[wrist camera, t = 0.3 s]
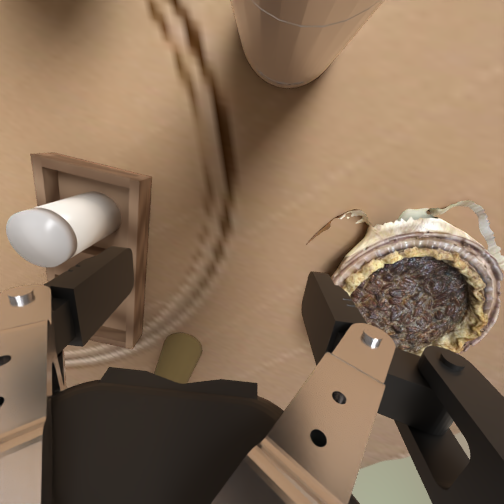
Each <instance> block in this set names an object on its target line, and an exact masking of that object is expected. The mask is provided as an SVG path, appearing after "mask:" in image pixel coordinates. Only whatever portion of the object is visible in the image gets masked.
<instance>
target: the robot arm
mask: <svg viewBox="0 0 504 504" xmlns="http://www.w3.org/2000/svg"><path fill="white" fill-rule="evenodd" d="M230 1H231V5H232V9H233V12H234V16H235V20H236V24H237V28H238V32H239V36H240V40H241V43H242V47H243V50H244V53H245V56H246V58H247V60H248V62H249V63H250V65H251V67H252V69H253V70H254V71H255V72H256V73H257V74H258V75H259V77H261V78H262V79H263V80H265V81H266V82H268V83H270V84H272V85H274V86H277V87H283V88H294V87H300V86H302V85H305V84H308V83H310V82H311V81H313V80H314V79H316V78H317V77H319V76H320V75H321V74H322V73H323V72H324V71H325V70H326V69H327V68H328V67H329V65H330V64H331V63H332V62H333V61H334V59H335V58H336V57H337V56H338V55H339V54H340V53H341V51H342V50H343V49H344V48H345V47H346V45H347V44H348V43H349V42H350V41H351V39H352V38H353V37H354V36H355V35H356V33H357V32H358V31H359V30H360V29H361V27H362V26H363V25H364V24H365V23H366V21H367V20H368V19H369V18H370V17H371V16H372V14H373V13H374V12H375V11H376V10H377V8H378V7H379V6H380V5H381V4H382V2H383V1H384V0H230ZM133 285H134V269H133V253H132V250H131V249H130V248H125V247H117V246H110V247H109V248H107V249H106V250H104V251H103V252H101V253H99V254H98V255H96V256H93V257H90V258H87V259H84V260H83V261H81V262H79V263H78V264H76V265H75V266H73V267H71V268H70V269H68V271H65V272H63V273H62V274H60V275H59V276H57V277H56V278H54V279H52V280H51V281H49V282H48V283H46V284H44V285H38V284H32V285H23V286H17V287H13V288H10V289H7V290H5V291H2V292H0V504H360V503H359V502H358V501H357V500H356V498H355V497H354V496H353V495H352V490H353V487H354V484H355V481H356V478H357V475H358V471H359V468H360V465H361V462H362V459H363V456H364V453H365V449H366V446H367V443H368V440H369V437H370V434H371V431H372V427H373V424H374V421H375V418H376V415H377V413H379V414H381V415H384V416H386V417H389V418H391V419H394V421H395V423H396V425H397V427H398V429H399V432H400V434H401V436H402V438H403V440H404V443H405V445H406V447H407V449H408V451H409V453H410V456H411V458H412V460H413V462H414V464H415V466H416V469H417V471H418V473H419V475H420V477H421V480H422V482H423V484H424V486H425V488H426V490H427V493H428V495H429V497H430V499H431V501H432V503H433V504H504V397H503V396H502V395H501V394H500V393H499V392H498V391H497V390H496V389H495V388H494V387H493V386H492V384H491V383H490V382H489V381H488V380H487V379H486V378H485V377H484V376H483V375H482V374H481V373H480V372H479V371H478V370H477V369H476V368H475V367H474V366H473V365H472V364H471V363H470V362H469V361H468V360H466V359H465V358H463V357H462V356H460V355H459V354H457V353H455V352H453V351H451V350H448V349H446V348H443V347H439V346H427V347H426V348H425V349H424V351H423V353H422V355H421V356H418V355H415V354H412V353H409V352H406V351H403V350H400V349H397V348H395V347H396V346H395V343H394V341H393V339H392V338H391V337H390V336H389V335H388V334H387V333H385V332H384V331H382V330H381V329H379V328H377V327H375V326H372V325H369V324H367V322H366V321H365V319H364V318H363V316H362V314H361V313H360V311H359V310H358V308H357V307H356V305H355V304H354V302H353V301H352V299H351V297H350V296H349V294H348V293H347V292H346V291H345V290H344V289H342V288H341V287H340V286H339V285H335V284H334V283H333V281H332V279H331V278H330V276H329V274H328V273H320V272H312V271H311V272H310V274H309V276H308V280H307V284H306V288H305V292H304V296H303V301H302V316H303V320H304V323H305V327H306V330H307V334H308V337H309V341H310V344H311V348H312V352H313V355H314V359H315V362H316V368H315V369H314V370H313V372H312V373H311V375H310V376H309V377H308V379H307V380H306V381H305V383H304V384H303V386H302V387H301V388H300V390H299V391H298V393H297V394H296V395H295V397H294V398H293V400H292V401H291V402H290V404H289V405H288V407H287V408H286V409H285V411H283V410H282V409H281V408H280V407H278V406H277V405H275V404H273V403H272V402H270V401H268V400H266V399H264V398H262V397H259V396H257V383H251V382H242V381H232V380H223V379H220V380H211V381H203V382H194V383H186V384H181V383H177V382H174V381H172V380H169V379H166V378H164V377H161V376H158V375H155V374H153V373H150V372H147V371H141V370H131V369H122V368H113V367H109V368H108V370H107V371H106V373H105V374H104V376H103V377H102V379H101V380H95V381H90V382H86V383H82V384H79V385H75V386H73V387H70V388H66V372H65V357H64V352H63V349H64V348H65V347H66V346H67V345H73V346H82V347H83V346H84V345H85V344H86V343H87V342H88V340H89V339H90V338H91V337H92V336H93V335H94V334H95V333H96V331H97V330H98V329H99V328H100V327H101V326H102V325H103V324H104V322H105V321H106V320H107V319H108V318H109V317H110V316H111V314H112V313H113V312H114V311H115V310H116V309H117V308H118V307H119V305H120V304H121V303H122V302H123V301H124V300H125V299H126V298H127V296H128V295H129V294H130V293H131V291H132V289H133ZM453 421H454V422H455V424H456V425H457V427H458V428H459V430H460V431H461V433H462V434H463V435H464V437H465V439H466V441H467V443H468V445H469V449H470V456H471V457H470V460H469V458H468V457H467V455H466V454H465V452H464V451H463V449H462V447H461V446H460V444H459V443H458V441H457V439H456V438H455V436H454V435H453V433H452V432H451V430H450V429H449V427H450V426H451V424H452V423H453Z"/></svg>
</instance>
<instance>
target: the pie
mask: <svg viewBox="0 0 504 504" xmlns="http://www.w3.org/2000/svg"><path fill="white" fill-rule="evenodd" d="M454 206H466V207H469V208H471V209H472V210H473V211H474V212H475V213H476V214H477V216H478V219H479V228H480V232H481V233H482V235H483V236H484V238H485V240H486V241H487V243H488V251H487V250H486V249H485V248H484V247H483V246H482V245H481V244H480V243H479V242H477V241H476V240H474V239H473V238H472V237H471V236H469V235H468V234H467V233H465V232H463V231H462V230H460V229H458V228H456V227H454V226H453V225H451V224H449V223H447V222H446V221H444V220H442V219H440V218H438V217H434V216H437V215H440V214H443V213H444V212H446V211H447V210H449V209H450V208H452V207H454ZM427 210H430V212H431V214H430V215H427V213H426V211H427ZM484 211H485V210H484V209H483V208H482V207H481V206H479V205H476V204H475V203H474V202H473V201H470V200H466V201H461V202H457V203H456V204H451V205H450V206H448V207H446V208H445V209H439V208H421V209H407V210H405V211H404V212H403V213H402V214H401V215H400V216H399V218H398V220H396V221H395V222H394V223H392V222H389V223H385V224H384V225H376V226H375V227H373V226H372V225H371V223H370V222H369V220H368V217H367V215H366V214H365V213H364V212H363V211H362V210H358V209H354V210H351V211H347V212H346V213H350V212H351V213H352V215H351V216H362V219H360V220H359V221H358V222H357V223H356V224H358V223H363V222H366V223H367V225H369V227H368V229H367V232H366V235H365V236H364V238H363V239H362V240H361V241H360V242H359V243H358V244H357V245H356V246H355V247H354V248H353V249H352V250H351V251H350V252H349V253H348V254H347V255H346V256H345V257H344V259H343V260H342V262H341V263H340V265H339V267H338V268H337V270H336V271H335V272H334V273H333V275H332V276H331V279H332V281H333V283H334V284H335V285H339V286H340V287H341V288H342V289H344V290H345V291H346V292H347V293H348V294H349V296H350V297H351V299H352V301H353V302H354V304H355V305H356V307H357V308H358V310H359V311H360V313H361V314H362V316H363V318H364V319H365V321H366V322H367V324H369V325H372V326H375V327H377V328H379V329H381V330H382V331H384V332H385V333H387V334H388V335H389V336H390V337H391V338H392V339H393V341H394V343H395V346H396V347H395V348H397V349H400V350H403V351H406V352H409V353H412V354H415V355H418V356H421V355H422V353H423V351H424V349H425V348H426V347H427V346H439V347H443V348H446V349H448V350H451V351H453V352H455V353H457V354H459V353H462V352H463V351H464V352H465V351H467V350H468V349H469V348H470V347H469V345H472V346H474V345H475V344H477V343H478V342H480V341H481V339H482V338H483V337H484V336H486V334H487V333H488V332H489V331H490V329H491V327H492V326H493V325H494V323H495V322H496V320H497V318H498V314H499V307H500V306H501V305H500V303H501V301H500V298H499V296H500V295H501V292H500V291H499V289H500V288H501V285H500V281H502V280H503V273H502V271H501V269H503V270H504V256H501V255H500V254H501V253H500V252H499V251H500V250H501V248H500V247H498V246H496V243H495V241H494V238H495V237H494V236H493V234H494V233H493V232H492V231H491V230H490V227H489V224H490V223H488V221H489V220H487V215H486V214H485V213H484ZM346 213H344V214H342V215H340V216H337V217H335V218H339V219H342V218H343V217H344V216H345V214H346ZM348 218H349V217H347V219H348ZM332 220H333V219H332ZM332 220H331V221H332ZM331 221H330V222H329V223H328V224H327V225H326V226H325V227H323V228H322V229H321V230H320V231H319V232H318V233H316V234H315V235H314V237H313V238H311V240H313V239H314V238H315V237H316V236H317V235H319V234H320V233H321V232H323V231H325V230H327V229H329V228H330V223H331ZM311 240H310V241H311ZM310 241H309V242H310ZM309 242H308V243H309ZM308 243H307V244H308ZM481 330H484V331H481Z"/></svg>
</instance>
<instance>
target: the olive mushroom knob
mask: <svg viewBox="0 0 504 504" xmlns="http://www.w3.org/2000/svg"><path fill="white" fill-rule="evenodd" d="M201 353H202V346H201V344H200V342H199V341H198V340H197V339H196V338H195V337H193V336H191V335H189V334H185V333H175V334H172V335H170V336H168V337H167V338H166V340H165V342H164V345H163V348H162V351H161V354H160V357H159V360H158V363H157V367H156V370H155V373H154V374H155V375H158V376H161V377H164V378H166V379H169V380H172V381H174V382H177V383H181V384H186V383H188V381H189V378H190V376H191V374H192V372H193V370H194V368H195V366H196V364H197V362H198V360H199V358H200V356H201Z"/></svg>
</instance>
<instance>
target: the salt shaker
mask: <svg viewBox="0 0 504 504" xmlns="http://www.w3.org/2000/svg"><path fill="white" fill-rule="evenodd" d="M120 223H121V214H120V210H119V208H118V206H117V205H116V203H115V202H114V201H113V200H112V199H111V198H110V197H108V196H107V195H105V194H103V193H100V192H96V191H90V192H86V193H83V194H79V195H76V196H72V197H69V198H65V199H62V200H59V201H55V202H52V203H48V204H45V205H41V206H38V207H35V208H31V209H28V210H24V211H21V212H18V213H15V214H14V215H12V216H11V217H10V218H9V220H8V222H7V226H6V232H7V237H8V239H9V242H10V244H11V245H12V247H13V248H14V249H15V251H16V252H17V253H18V254H19V255H20V256H21V257H23V258H24V259H25V260H27V261H29V262H30V263H32V264H35V265H37V266H41V267H55V266H58V265H60V264H62V263H63V262H65V261H67V260H68V259H70V258H72V257H73V256H75V255H77V254H78V253H80V252H82V251H83V250H85V249H87V248H88V247H90V246H92V245H93V244H95V243H97V242H98V241H100V240H102V239H103V238H105V237H106V236H108V235H110V234H111V233H113V232H115V231H116V230H117V229H118V228H119V226H120Z"/></svg>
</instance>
